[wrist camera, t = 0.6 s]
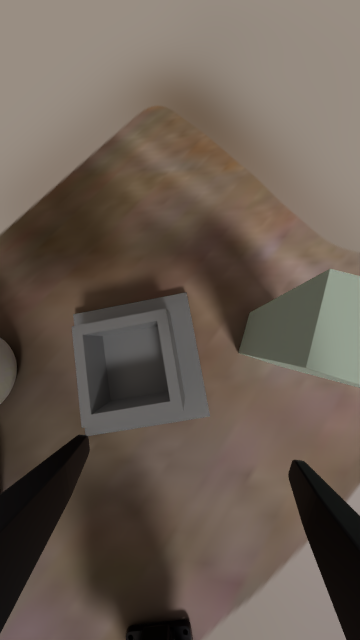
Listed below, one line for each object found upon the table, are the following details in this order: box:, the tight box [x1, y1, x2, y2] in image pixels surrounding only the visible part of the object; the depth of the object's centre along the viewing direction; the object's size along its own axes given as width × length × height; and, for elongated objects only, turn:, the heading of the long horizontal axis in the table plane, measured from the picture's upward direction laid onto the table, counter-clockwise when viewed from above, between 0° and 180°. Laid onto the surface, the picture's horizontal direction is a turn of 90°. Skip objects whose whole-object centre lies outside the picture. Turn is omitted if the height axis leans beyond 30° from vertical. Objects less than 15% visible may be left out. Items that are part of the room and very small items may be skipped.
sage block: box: [238, 269, 360, 388], centre depth 15 cm, size 5×5×13 cm
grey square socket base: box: [72, 293, 210, 436], centre depth 20 cm, size 14×14×5 cm
